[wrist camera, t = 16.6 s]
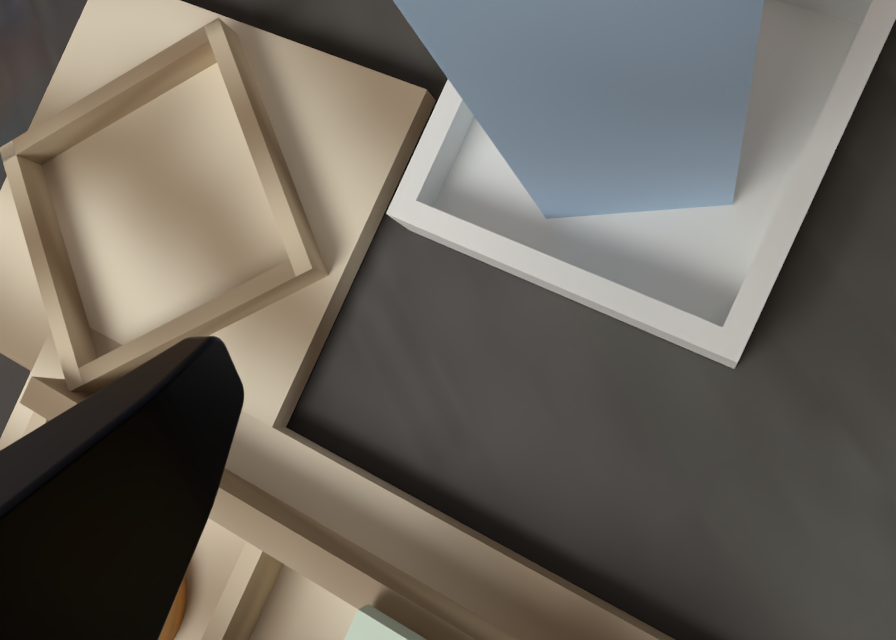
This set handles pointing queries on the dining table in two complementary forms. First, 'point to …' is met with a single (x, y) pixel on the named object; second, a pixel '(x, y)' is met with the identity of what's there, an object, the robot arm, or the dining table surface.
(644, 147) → the block
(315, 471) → the board
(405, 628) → the lid
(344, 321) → the dining table surface
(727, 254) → the white square frame
